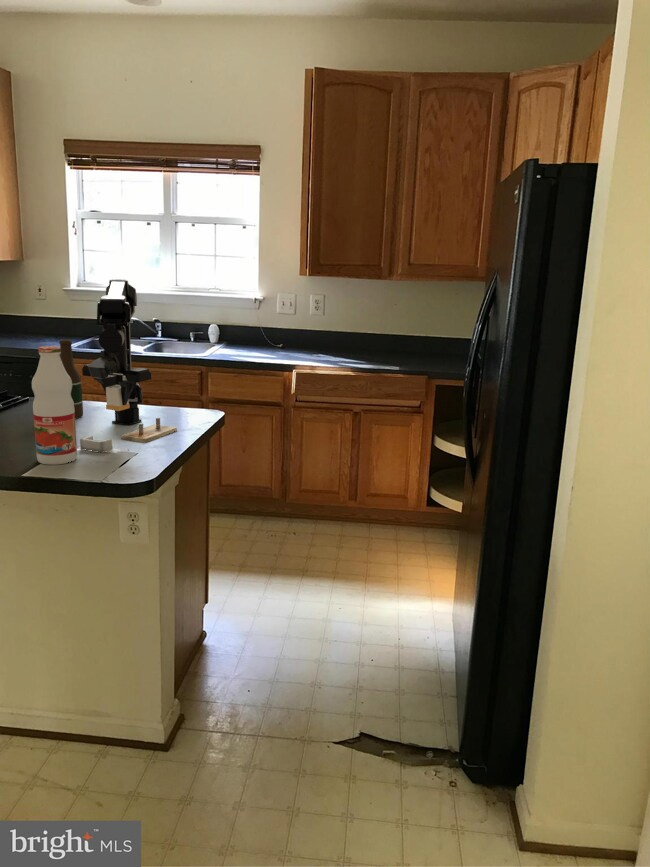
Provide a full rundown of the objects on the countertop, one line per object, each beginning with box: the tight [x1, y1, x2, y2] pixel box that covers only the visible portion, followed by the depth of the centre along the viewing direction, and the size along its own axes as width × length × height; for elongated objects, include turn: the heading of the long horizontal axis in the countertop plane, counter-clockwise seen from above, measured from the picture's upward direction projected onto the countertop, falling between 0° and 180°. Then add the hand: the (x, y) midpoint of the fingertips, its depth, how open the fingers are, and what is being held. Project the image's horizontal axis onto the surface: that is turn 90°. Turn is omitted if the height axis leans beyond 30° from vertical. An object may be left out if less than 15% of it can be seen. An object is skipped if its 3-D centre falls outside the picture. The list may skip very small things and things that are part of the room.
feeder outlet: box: [79, 435, 113, 453], centre depth 181 cm, size 7×4×3 cm, turn 68°
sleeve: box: [105, 385, 130, 412], centre depth 186 cm, size 4×4×6 cm
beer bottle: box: [58, 338, 84, 419], centre depth 213 cm, size 8×8×24 cm
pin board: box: [121, 417, 178, 443], centre depth 197 cm, size 8×15×4 cm, turn 158°
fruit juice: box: [31, 345, 78, 466], centre depth 168 cm, size 9×9×28 cm
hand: (117, 404), depth 186 cm, fingers closed on sleeve, 4 cm apart
